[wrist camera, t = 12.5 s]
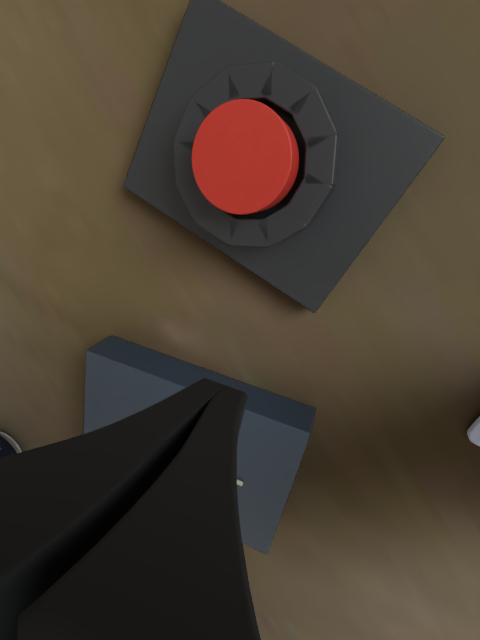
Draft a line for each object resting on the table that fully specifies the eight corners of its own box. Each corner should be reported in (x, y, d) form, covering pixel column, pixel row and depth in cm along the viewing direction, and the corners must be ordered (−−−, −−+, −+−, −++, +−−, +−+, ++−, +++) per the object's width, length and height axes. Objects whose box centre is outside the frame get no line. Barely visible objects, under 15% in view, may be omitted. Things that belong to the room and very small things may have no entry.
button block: (439, 140, 15) (457, 128, 12) (316, 307, 19) (309, 326, 16) (205, -1, 16) (174, -41, 13) (135, 186, 20) (99, 186, 17)
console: (316, 408, 21) (310, 436, 18) (275, 522, 25) (266, 557, 22) (111, 335, 24) (83, 351, 21) (104, 448, 28) (80, 472, 25)
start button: (319, 141, 14) (313, 134, 12) (267, 229, 16) (257, 234, 14) (235, 88, 14) (220, 76, 13) (193, 182, 16) (175, 180, 14)
